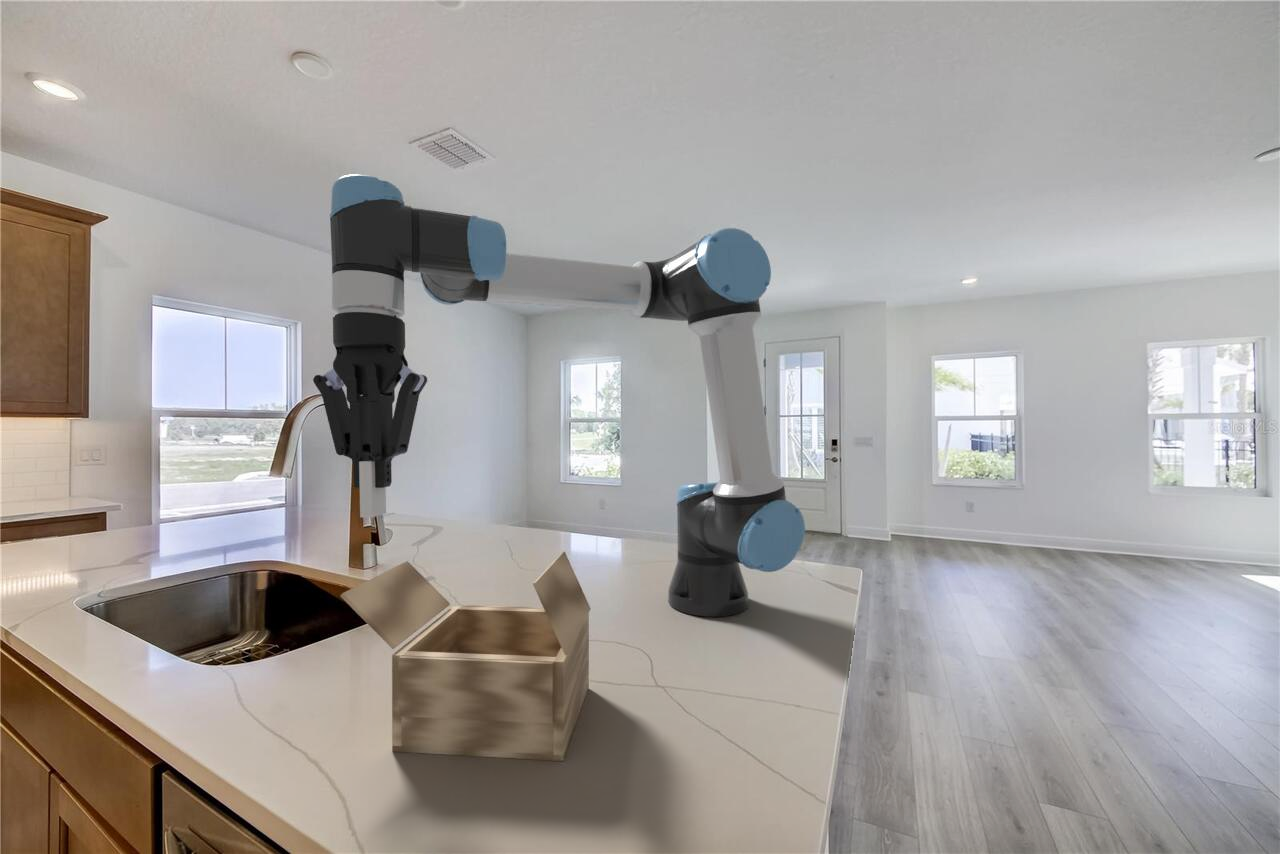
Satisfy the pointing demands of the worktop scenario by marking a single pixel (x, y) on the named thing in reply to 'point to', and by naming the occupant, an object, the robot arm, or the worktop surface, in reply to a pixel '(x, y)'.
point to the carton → (489, 685)
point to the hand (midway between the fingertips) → (373, 515)
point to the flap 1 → (396, 603)
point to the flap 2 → (562, 601)
